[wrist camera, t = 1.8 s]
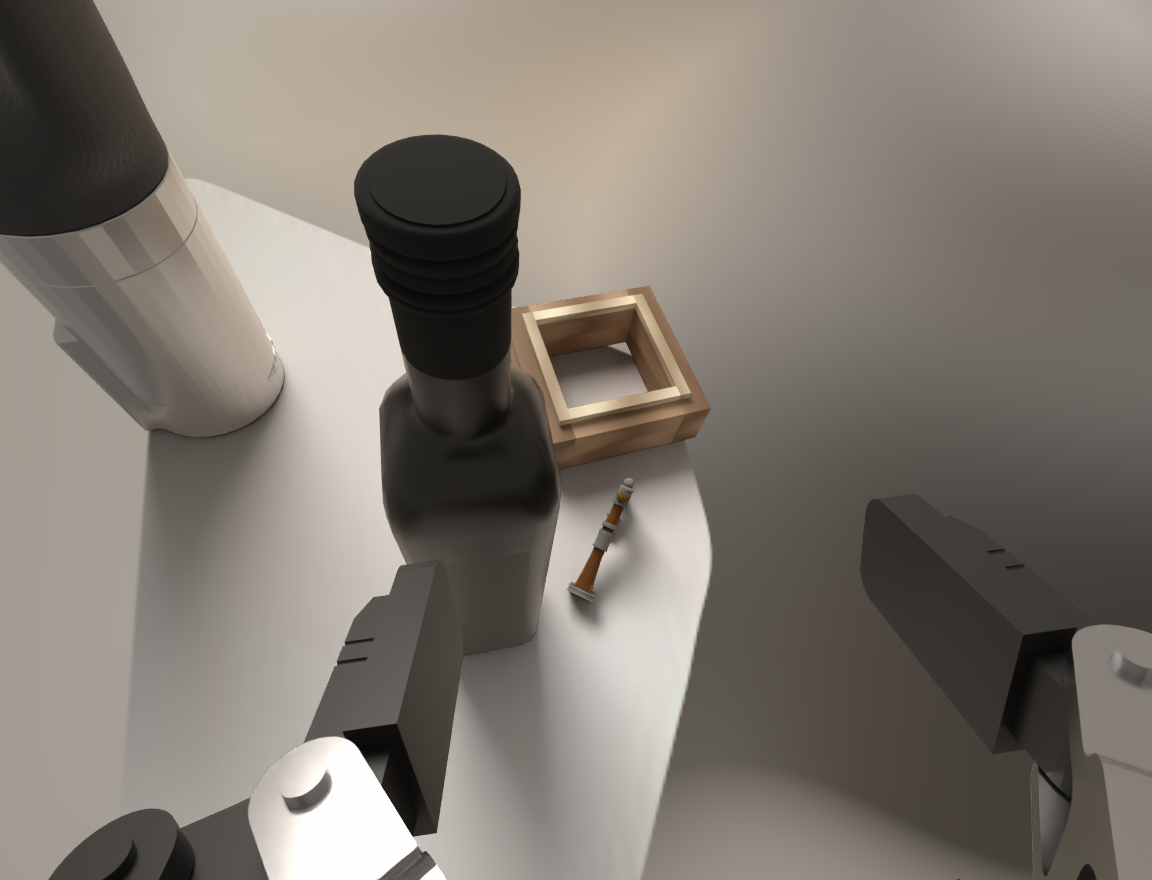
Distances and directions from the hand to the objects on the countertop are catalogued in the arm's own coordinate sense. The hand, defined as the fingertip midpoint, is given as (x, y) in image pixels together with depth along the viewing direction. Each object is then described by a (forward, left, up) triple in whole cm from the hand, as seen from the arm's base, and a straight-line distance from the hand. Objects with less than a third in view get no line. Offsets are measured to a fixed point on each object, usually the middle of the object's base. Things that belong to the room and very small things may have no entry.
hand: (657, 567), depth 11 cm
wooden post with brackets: (+6, +9, -27) cm, 29 cm away
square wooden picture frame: (+10, +21, -27) cm, 35 cm away
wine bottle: (-2, +7, -27) cm, 28 cm away
